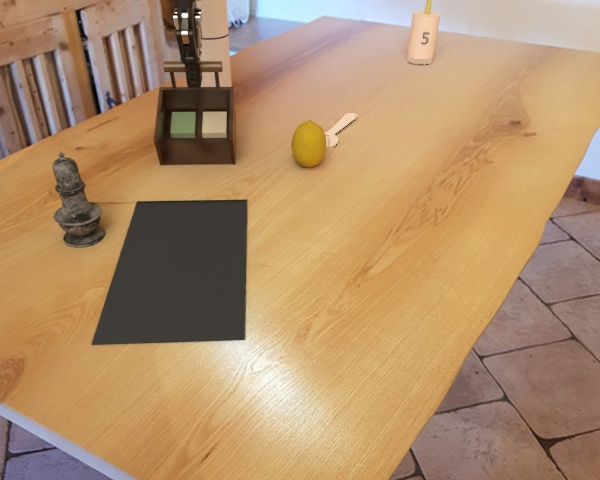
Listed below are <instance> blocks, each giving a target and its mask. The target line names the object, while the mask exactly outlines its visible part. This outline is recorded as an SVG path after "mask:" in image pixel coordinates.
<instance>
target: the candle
mask: <svg viewBox="0 0 600 480" xmlns="http://www.w3.org/2000/svg"><path fill="white" fill-rule="evenodd" d="M432 3H433V0H426V2H425V7H424V10H416V11H413V12H412V17H411V23H410V24H411V26H410V33H409V40H408V47H407V54H406V56H407V55H408V56H409V57H411V58H414V59H429V58H432V57H433V58H434V56H435V50H436V44H437V37H438V32H439V25H440V20H441V14H440V13H439V12H436V11H432V10H431V9H432Z"/></svg>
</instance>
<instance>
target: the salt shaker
mask: <svg viewBox="0 0 600 480" xmlns="http://www.w3.org/2000/svg"><path fill="white" fill-rule="evenodd" d="M58 156H59V157H58V158H57V159H55V160H54V161H53V162H52V165H51V166H52V167H51V168H52V171H53V174H54V178H55V182H56V184H55V187H54V190H55V191H56V192H57V193H58V195H59V198H60V201H61V207H59V208H58V209H56V210H55V212H54V214H53V219H54V221H55V222H56V223H57V225H58V226H59V227H60V229H62V230H63V232H65V233H64V235H63V236H62V237H63V239H62V240H63V243H64V244H65V245H66V246H68V247H70V248H71V247H72V248H88V247H91V246H94V245H97V244H98V243H100V242H101V241H102V240H104V238H105V235H106V231H105V229H104V228H103V227H101V226H99V225H100V224H101V223H100V222H101V218H102V217H101V214H102V211H103V209H102V207H101V206H100V205H99V204H97V203H95V202H93V201H89V200H88V198H87V195H86V190H85V188H87V187H86V186H87V185H86V182H85V181H83V180H82V177H81V174H80V171H79V166H78V164H77V162H76V160H75V159H73V158H72V157H68V156H65V153H64V152H63V151H59V153H58Z"/></svg>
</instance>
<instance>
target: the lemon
mask: <svg viewBox="0 0 600 480" xmlns="http://www.w3.org/2000/svg"><path fill="white" fill-rule="evenodd" d="M326 136H327V135H326V134H325V131H324V129H323V127H321V125H320V124H318V123H317V122H314V121H313V120H311V119H308V120H307V121H305V122H302V123H300V124H299V125H298V126H297V127H296V128H295V129H294V131H293V134H292V137H291V145H290V146H291V152H292V156H293V158H294V160H295V161H296V163H298V164H299V165H301V166H303V167H305V168H312V167H315V166H317V165H319V164H320V163H321V162H322V161H323V159H324V157H325V155H326V152H327V148H326V139H327V138H326Z"/></svg>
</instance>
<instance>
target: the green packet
mask: <svg viewBox="0 0 600 480" xmlns="http://www.w3.org/2000/svg"><path fill="white" fill-rule="evenodd" d="M196 119H197V116H196V112H172V118H171V129H170V135H171V138H195V137H196Z"/></svg>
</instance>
